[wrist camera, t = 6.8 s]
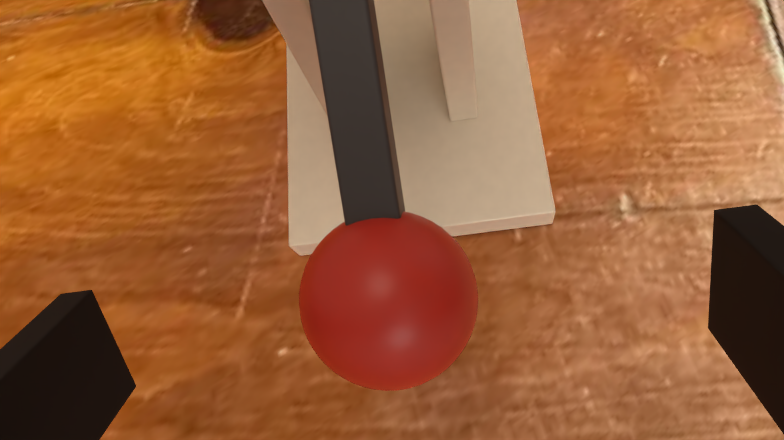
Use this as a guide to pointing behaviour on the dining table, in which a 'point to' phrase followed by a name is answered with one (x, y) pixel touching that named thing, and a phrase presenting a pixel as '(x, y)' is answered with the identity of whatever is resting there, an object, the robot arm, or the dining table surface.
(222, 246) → the dining table surface
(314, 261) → the switch lever
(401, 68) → the switch bracket
